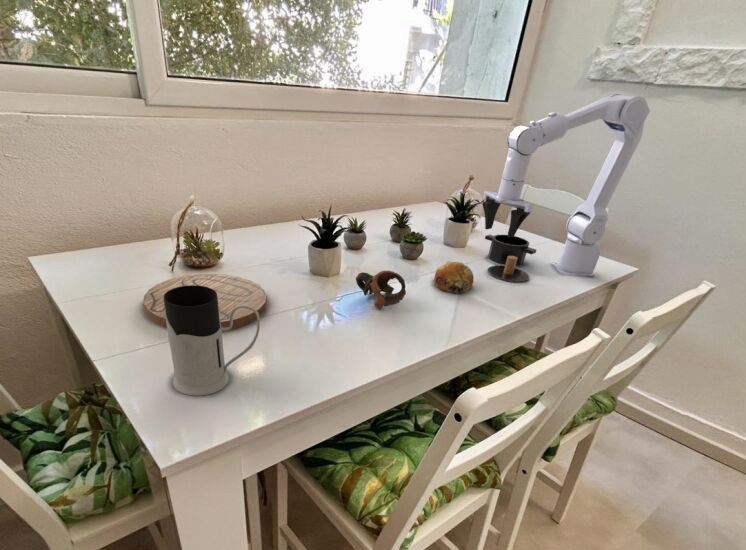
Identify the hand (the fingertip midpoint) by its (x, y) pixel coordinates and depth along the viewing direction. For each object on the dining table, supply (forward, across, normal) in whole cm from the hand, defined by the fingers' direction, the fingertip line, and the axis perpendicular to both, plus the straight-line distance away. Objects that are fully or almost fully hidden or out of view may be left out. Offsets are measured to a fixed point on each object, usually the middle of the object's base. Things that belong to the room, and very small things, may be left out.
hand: (499, 232), depth 126 cm
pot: (+10, -2, +10) cm, 14 cm away
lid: (+10, +6, -1) cm, 12 cm away
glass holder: (+10, +14, -88) cm, 90 cm away
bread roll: (+10, +4, -21) cm, 24 cm away
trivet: (+10, -14, -78) cm, 80 cm away
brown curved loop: (+10, +2, -44) cm, 45 cm away
